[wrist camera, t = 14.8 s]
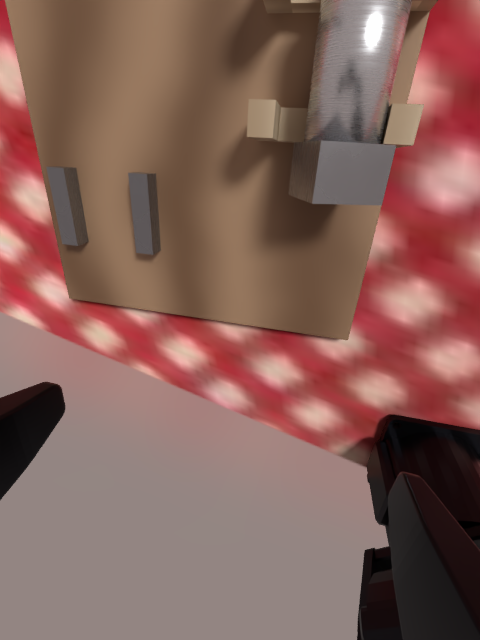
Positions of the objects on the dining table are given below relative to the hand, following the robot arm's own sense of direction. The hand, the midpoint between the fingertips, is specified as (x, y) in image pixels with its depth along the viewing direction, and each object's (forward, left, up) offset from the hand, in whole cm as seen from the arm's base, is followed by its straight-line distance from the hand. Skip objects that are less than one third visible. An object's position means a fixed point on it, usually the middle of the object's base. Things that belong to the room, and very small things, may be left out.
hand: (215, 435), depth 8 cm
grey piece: (-2, -9, -10) cm, 14 cm away
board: (+4, -6, -12) cm, 14 cm away
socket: (+9, -3, -11) cm, 15 cm away
